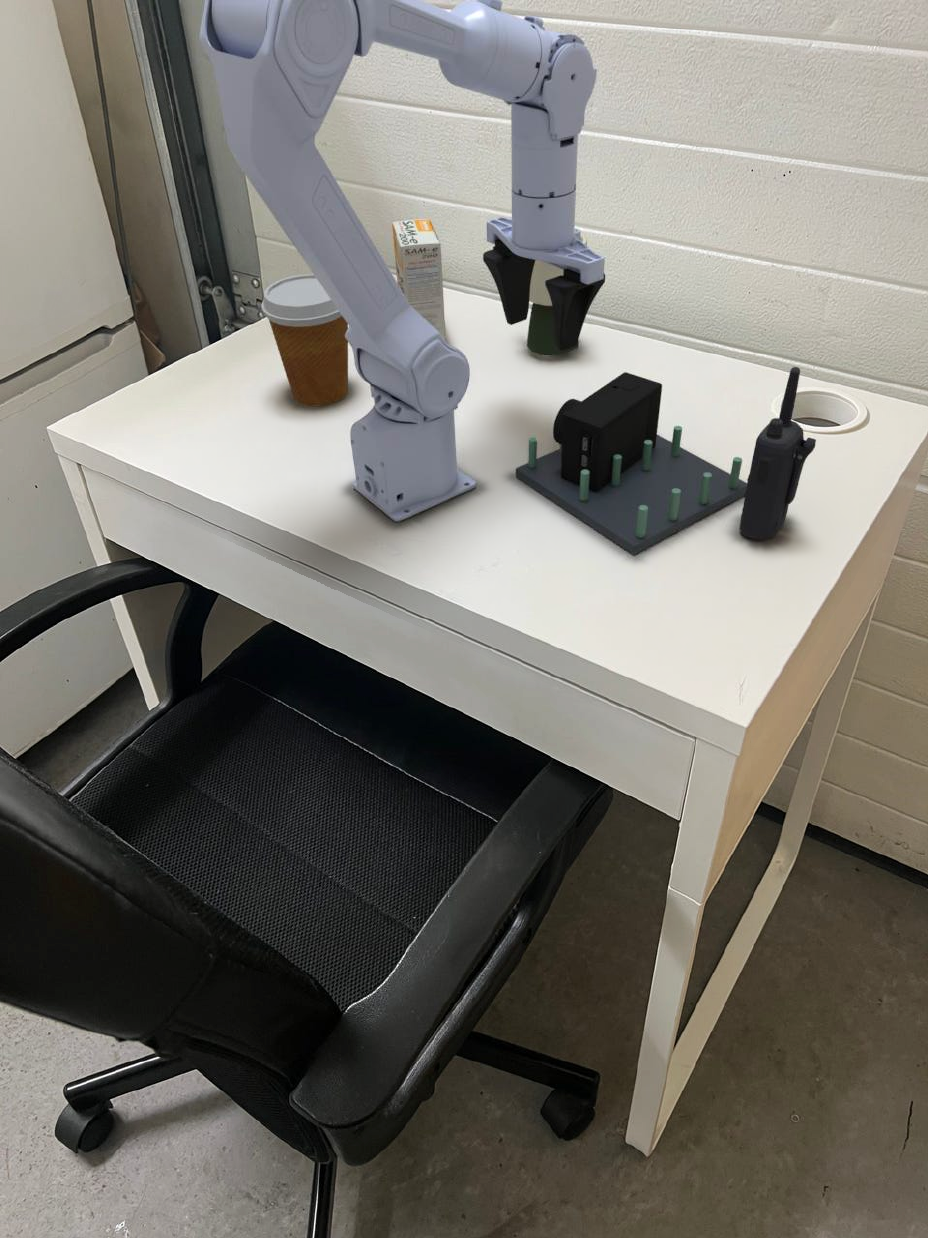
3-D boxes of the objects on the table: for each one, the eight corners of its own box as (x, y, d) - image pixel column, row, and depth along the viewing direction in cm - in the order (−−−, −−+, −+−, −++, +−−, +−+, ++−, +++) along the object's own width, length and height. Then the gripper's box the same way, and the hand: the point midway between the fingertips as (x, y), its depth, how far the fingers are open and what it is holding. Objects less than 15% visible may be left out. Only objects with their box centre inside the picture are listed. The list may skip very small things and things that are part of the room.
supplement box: (399, 326, 119) (390, 220, 110) (436, 322, 119) (430, 216, 111) (408, 354, 113) (399, 244, 104) (447, 350, 113) (441, 240, 104)
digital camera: (610, 429, 96) (614, 366, 91) (656, 446, 93) (663, 382, 88) (549, 474, 90) (551, 409, 85) (596, 493, 87) (600, 427, 83)
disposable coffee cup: (267, 411, 104) (246, 306, 96) (294, 371, 111) (276, 270, 103) (349, 415, 102) (335, 309, 94) (371, 375, 109) (359, 273, 101)
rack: (633, 555, 82) (637, 518, 79) (515, 476, 92) (515, 441, 89) (748, 493, 88) (755, 456, 85) (626, 426, 98) (629, 391, 95)
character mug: (607, 352, 111) (614, 241, 102) (568, 373, 107) (572, 260, 99) (537, 327, 117) (539, 220, 108) (499, 346, 113) (497, 237, 105)
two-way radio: (755, 506, 86) (786, 354, 76) (802, 521, 84) (841, 367, 74) (731, 536, 83) (760, 382, 73) (780, 552, 81) (817, 396, 71)
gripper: (634, 196, 80) (622, 346, 89) (526, 161, 89) (525, 300, 98) (572, 216, 77) (566, 368, 86) (467, 177, 86) (472, 318, 95)
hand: (541, 333), depth 92 cm, fingers open, 7 cm apart
